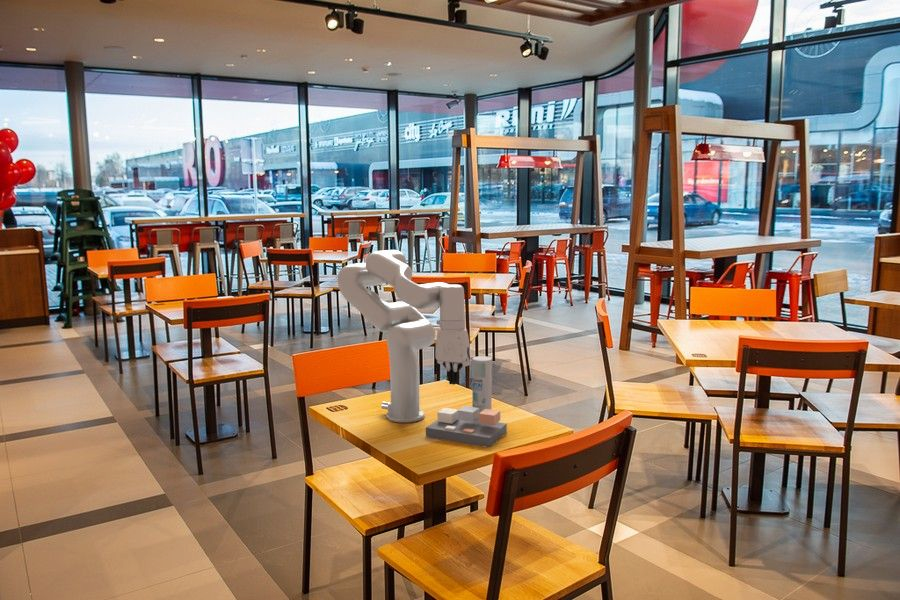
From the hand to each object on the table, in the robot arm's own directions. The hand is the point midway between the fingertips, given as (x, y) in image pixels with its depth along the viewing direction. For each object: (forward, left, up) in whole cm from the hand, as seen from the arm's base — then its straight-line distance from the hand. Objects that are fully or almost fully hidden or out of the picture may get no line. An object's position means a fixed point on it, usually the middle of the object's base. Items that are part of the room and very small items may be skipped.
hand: (453, 383), depth 213 cm
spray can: (+2, +17, -16) cm, 23 cm away
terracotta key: (+12, 0, -11) cm, 16 cm away
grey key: (+5, 0, -11) cm, 12 cm away
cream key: (-2, 0, -12) cm, 12 cm away
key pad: (+5, -1, -16) cm, 16 cm away
